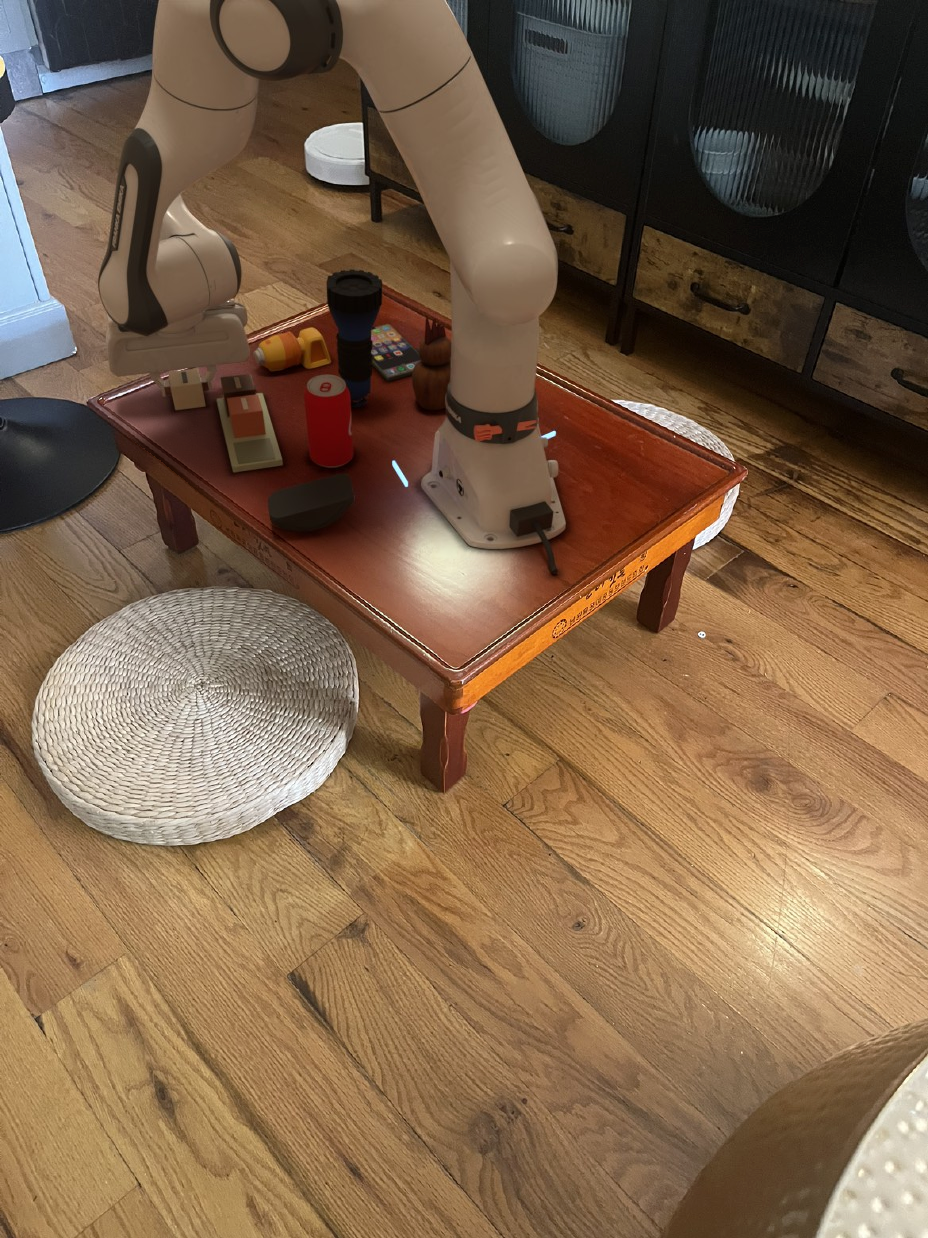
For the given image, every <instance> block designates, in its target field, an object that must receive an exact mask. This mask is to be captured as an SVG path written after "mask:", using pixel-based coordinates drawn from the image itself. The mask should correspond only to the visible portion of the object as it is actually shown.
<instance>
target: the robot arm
mask: <svg viewBox="0 0 928 1238" xmlns="http://www.w3.org/2000/svg"><path fill="white" fill-rule="evenodd" d="M154 22H155V23H154V30H153V42H152V66H151V67H152V70H151V71H152V72H151V73H152V75H151V81H150V82H151V83H150V88H149V91H148V96H147V98H146V103H145V105H144V107H143V110H142V113H141V115H140V118H139V120H138V122H137V124H136V125H135V127H134V129H132V131H131V132H130V134H129V135H128V136H127V138H126V140H125V142H124V143H123V146H122V149H121V150H122V151H121V153H120V159H119V165H118V170H117V178H116V182H115V183H116V184H115V191H114V199H113V206H112V212H111V213H112V214H111V219H110V220H111V221H110V228H109V236H108V242H107V248H106V250H105V251H106V252H105V255H104V257H103V260H102V262H101V265H100V268H99V271H98V272H99V273H98V277H97V289H98V294H99V298H100V301H101V304H102V306H103V309H104V310H105V315H106V321H107V323H106V326H105V342H106V343H105V344H106V353H107V354H106V356H107V361H108V367H109V371H110V372H111V373H112V374H113V375H114V376H115V377H118V378H119V377H127V376H137V375H145V374H149V376H150V379H151V380H152V382H153V383H154V384H156V385H157V387H159V388H160V392H161V395H162V396H161V397H170V396H171V397H172V392H171V387H170V381H169V379H168V380H167V379H165V380H164V379H163V378H162V377H161V372H172V371H180V370H188V369H197V368H202V367H206V373H205V375H200V378H201V383H202V389H203V392H210V391H213V385H212V382H213V380H214V377H215V375H216V373H217V366H220V365H227V364H237V363H245V362H247V361H248V360H249V358H250V357H251V349H250V344H249V339H248V336H247V333H246V330H245V327H246V326H247V324H248V321H249V319H248V313H247V312H248V311H247V308H246V306H245V305H244V304H242V303H241V302H239V301H235V298H236V297H237V296H238V293H239V291H240V289H241V284H242V275H243V273H242V272H243V271H242V270H243V269H242V262H241V258H240V254H239V253H238V249H237V248H236V246H235V244H234V242H232V241H231V240H230V239H229V238H228V237H226V236H225V235H224V234H222V233H220V232H219V231H217V230H215V229H213V228H210V227H208V226H205V225H204V224H203V223H202V222H201V221H199V219H197V218H196V217H195V216H194V215H193V214H192V212H191V211H189V209H188V207H187V205H186V203H185V201H184V199H183V197H182V194H183V193H184V192H185V191H187V190H188V189H189V188H190V187H192V186H193V185H195V184H196V183H197V182H199V181H201V180H202V179H204V178H205V177H207V176H208V175H210V174H212V173H214V172H215V171H217V170H219V169H221V168H222V167H225V166H226V165H228V164H229V163H230V162H231V161H233V160H234V159H235V158H236V157H238V155H239V154H241V152H242V151H243V150H244V149H245V147H246V145H247V144H248V141H249V139H250V137H251V135H252V132H253V129H254V126H255V123H256V122H255V121H256V116H257V107H258V97H259V85H260V80H261V81H268V82H269V81H270V82H277V81H284V80H288V79H293V78H296V77H300V76H302V75H313V74H314V75H315V74H324V73H328V72H331V71H332V70H333V69H334V67H336V65H337V63H338V61H339V59H341V60H343V61H345V62H346V63H348V64H349V65H350V66H351V67H352V68H353V69H354V70H355V71H356V73H357V74H358V76H359V77H360V80H361V81H362V82H363V84H364V86H365V88H366V90H367V92H368V94H369V96H370V98H371V101H372V102H373V104H374V106H375V108H376V110H377V112H378V114H379V116H380V118H381V119H382V122H383V123H384V125H385V127H386V129H387V131H388V133H389V135H390V137H391V139H392V140H393V143H394V144H395V146H396V148H397V150H398V152H399V154H400V156H401V158H402V160H403V161H404V163H405V165H406V167H407V169H408V171H409V173H410V175H411V177H412V179H413V181H414V183H415V185H416V187H417V190H418V192H419V194H420V197H421V199H422V201H423V204H424V206H425V208H426V210H427V213H428V215H429V217H430V219H431V221H432V224H433V226H434V228H435V230H436V233H437V234H438V236H439V239H440V241H441V243H442V245H443V247H444V249H445V252H446V254H447V256H448V257H449V264H450V267H449V268H450V269H449V270H450V273H449V274H450V316H451V317H450V318H451V319H450V321H451V322H450V323H451V340H450V341H451V357H450V359H451V371H450V382H449V384H448V386H447V393H446V397H445V404H446V407H445V417H444V420H443V421H442V423H441V425H440V426H439V427H438V428H437V429H436V431H435V433H434V437H433V438H434V440H433V448H432V449H433V450H432V459H431V460H432V461H431V462H432V463H431V470H430V471H429V472H428V473H426V474H425V475H424V476H423V477H422V479H421V484H420V487H421V489H422V490H423V492H424V493H425V495H427V496H428V498H429V499H430V501H431V502H433V504H434V505H435V506H436V508H437V509H438V510H439V511H440V512H441V514H442V515H443V516H444V517H445V519H446V520H447V521H448V522H449V524H450V525H451V526H452V528H454V530H455V531H456V532H457V534H459V536H460V537H461V538H462V540H463V541H464V542H465V543H466V544H467V545H468V546H470V547H473V548H479V549H486V550H503V549H504V550H505V549H514V548H521V547H525V546H526V547H527V546H531V545H535V544H539V543H542V545H543V547H544V550H545V553H546V557H547V561H548V568H549V570H550V572H551V574H552V575H555V574H558V572H559V569H558V568H557V566H556V560H555V556H554V552H553V548H552V545H551V543H550V540H551V539H553V538H555V537H557V536H559V535H560V534H562V533H563V532H564V531H565V530H566V528H567V527H566V525H567V523H566V519H565V518H566V517H565V514H564V511H563V508H562V504H561V500H560V497H559V493H558V490H557V487H556V484H555V480H554V478H556V477H558V476H559V463H558V460H556V459H550V460H549V459H547V456H546V452H545V449H546V448H548V446H549V439H551V438H553V437H556V434H557V432H556V431H555V430H553V431H551V432H549V433H546V434H544V435H542V434H541V429H540V424H539V420H540V419H539V413H538V412H539V401H538V392H537V389H536V387H535V386H536V377H537V371H538V370H537V368H538V358H539V349H540V340H541V332H540V316H541V315H542V314H543V313H544V312H545V311H546V310H547V309H548V308H549V306H550V305H551V303H552V301H553V299H554V297H555V295H556V291H557V286H558V285H557V284H558V275H559V273H558V272H559V259H558V258H559V257H558V251H557V248H556V245H555V242H554V240H553V237H552V234H551V232H550V229H549V227H548V224H547V222H546V218H545V216H544V214H543V211H542V209H541V206H540V203H539V201H538V199H537V197H536V195H535V193H534V191H533V190H532V189H531V187H530V184H529V182H528V179H527V177H526V175H525V172H524V171H523V167H522V165H521V163H520V161H519V158H518V157H517V154H516V151H515V148H514V146H513V144H512V141H511V139H510V137H509V134H508V132H507V129H506V128H505V124H504V122H503V120H502V118H501V116H500V113H499V111H498V109H497V106H496V105H495V102H494V99H493V97H492V95H491V92H490V91H489V88H488V86H487V84H486V81H485V79H484V77H483V75H482V72H481V70H480V67H479V65H478V63H477V61H476V58H475V56H474V53H473V51H472V50H471V47H470V45H469V43H468V41H467V38H466V37H465V34H464V32H463V30H462V28H461V26H460V23H459V22H458V20H457V18H456V16H455V14H454V13H453V11H452V9H451V7H450V6H449V4H448V3H447V0H158V4H157V9H156V15H155V21H154ZM391 463H392V467H393V469H394V470H395V472H396V474H397V475H398V477H399V479H400V480H401V482H402V483H403V485H404V487H405V488H407V487H409V481H408V480H407V478H406V477H405V475H404V474H403V472H402V470H401V469H400V467H399V465H398V463H397V461H396V460H392V462H391Z"/></svg>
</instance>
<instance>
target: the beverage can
mask: <svg viewBox="0 0 928 1238" xmlns="http://www.w3.org/2000/svg"><path fill="white" fill-rule="evenodd" d="M303 400H304V411H305V419H306V430H307V442H308V450H309V451H308V452H309V457H310V460H311V461H312V462H313V463H315V464H316V465H318V466H320V467H324V468H328V469H329V468H331V469H332V468H333V469H334V468H339V467H342V466H345V465H346V464H348V463H349V462H351V460H352V459H353V457H354V453H355V452H354V439H353V438H354V437H353V435H354V434H353V421H352V407H351V401H350V392H349V390H348V388H347V386H346V383H345V381H344V380H343V379H342V378H341V376H338V375H334V374H320V375H319V374H318V375H315V376H313V377H312V378H310V379H309V380H308V382H307V384H306V388H305V390H304V394H303Z"/></svg>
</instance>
